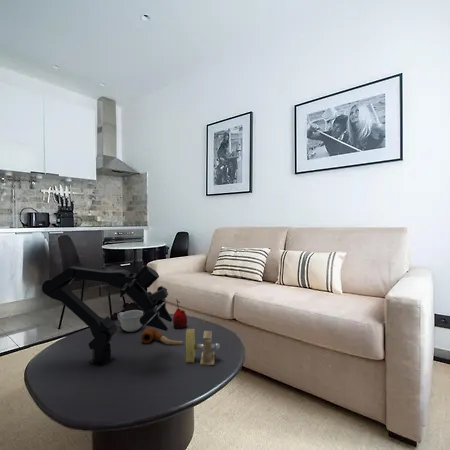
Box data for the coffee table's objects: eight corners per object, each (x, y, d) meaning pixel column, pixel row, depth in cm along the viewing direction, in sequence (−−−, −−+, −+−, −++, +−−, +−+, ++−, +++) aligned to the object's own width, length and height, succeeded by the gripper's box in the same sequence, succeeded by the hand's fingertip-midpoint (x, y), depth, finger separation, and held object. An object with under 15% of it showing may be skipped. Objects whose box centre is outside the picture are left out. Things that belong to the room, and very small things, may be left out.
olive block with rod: (185, 362, 103) (185, 332, 103) (187, 357, 107) (187, 328, 107) (220, 362, 103) (220, 332, 103) (220, 357, 107) (220, 328, 107)
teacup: (148, 328, 137) (148, 312, 138) (130, 335, 128) (130, 318, 128) (129, 323, 145) (129, 307, 145) (111, 329, 136) (111, 313, 136)
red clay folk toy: (190, 326, 139) (190, 296, 139) (179, 330, 134) (179, 299, 134) (180, 323, 144) (180, 294, 144) (169, 327, 139) (169, 297, 139)
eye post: (200, 365, 100) (200, 339, 101) (201, 354, 109) (201, 329, 110) (214, 365, 101) (213, 339, 101) (214, 354, 110) (214, 329, 110)
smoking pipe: (146, 338, 126) (146, 325, 126) (185, 339, 124) (185, 326, 124) (139, 344, 119) (139, 331, 119) (181, 346, 117) (181, 333, 117)
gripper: (148, 286, 95) (181, 318, 96) (160, 276, 114) (187, 303, 114) (125, 309, 95) (158, 341, 95) (141, 295, 114) (168, 322, 114)
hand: (169, 325), depth 105 cm, fingers open, 9 cm apart
